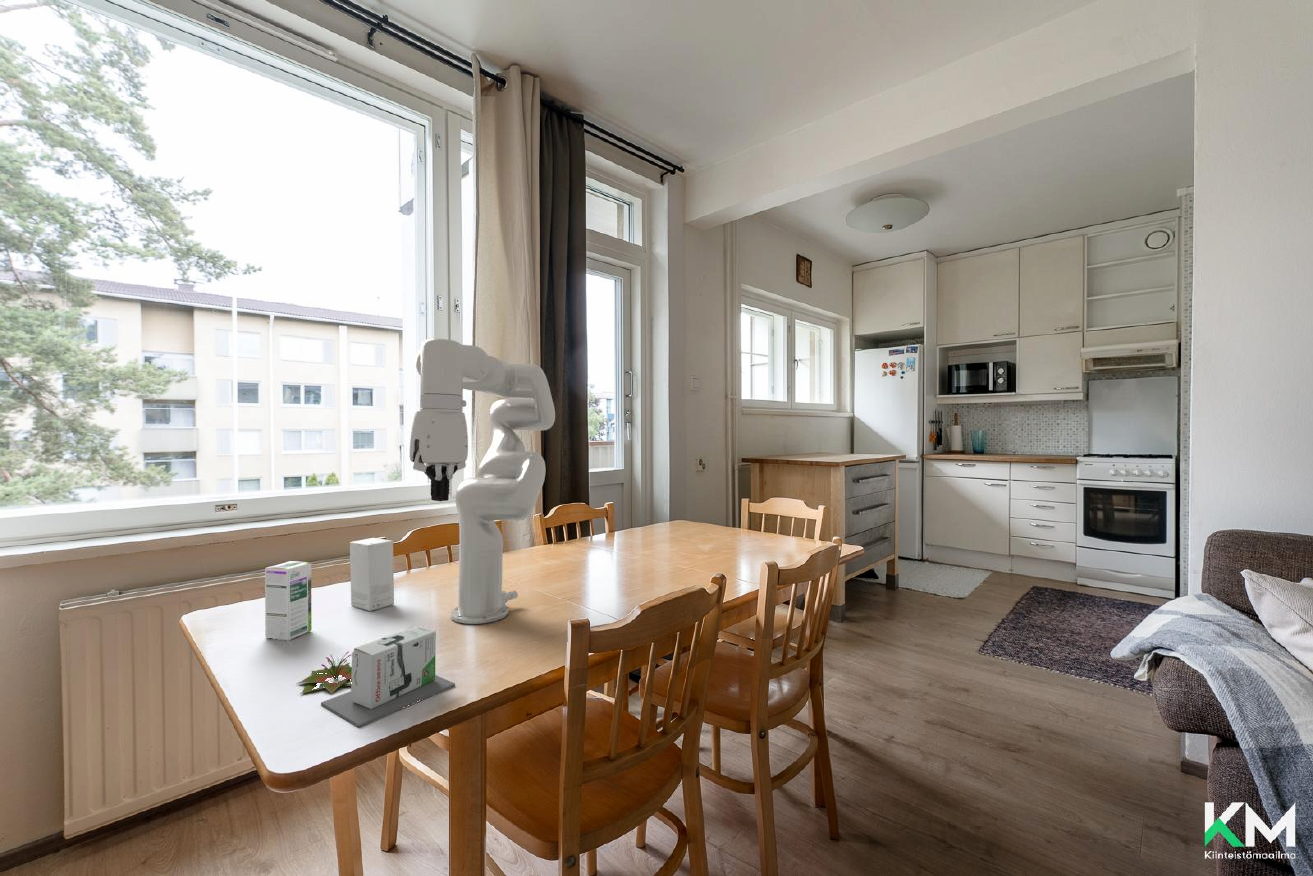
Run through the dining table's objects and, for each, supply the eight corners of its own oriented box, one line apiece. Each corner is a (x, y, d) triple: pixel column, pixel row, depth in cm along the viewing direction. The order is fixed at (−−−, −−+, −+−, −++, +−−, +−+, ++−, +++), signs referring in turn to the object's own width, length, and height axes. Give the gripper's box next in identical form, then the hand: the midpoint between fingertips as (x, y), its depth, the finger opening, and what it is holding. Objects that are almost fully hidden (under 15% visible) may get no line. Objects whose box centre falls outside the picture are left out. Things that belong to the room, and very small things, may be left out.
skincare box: (394, 605, 133) (395, 540, 132) (367, 612, 127) (368, 545, 127) (374, 598, 137) (375, 536, 137) (348, 605, 132) (348, 540, 131)
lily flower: (303, 672, 97) (303, 646, 97) (379, 663, 101) (379, 638, 101) (285, 704, 86) (286, 675, 86) (372, 692, 90) (372, 665, 90)
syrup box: (288, 641, 109) (289, 568, 109) (263, 638, 110) (264, 566, 110) (312, 631, 115) (312, 562, 115) (288, 628, 116) (288, 560, 116)
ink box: (436, 680, 93) (369, 712, 83) (417, 673, 95) (350, 703, 85) (437, 630, 93) (370, 655, 82) (417, 623, 95) (350, 648, 85)
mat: (416, 668, 98) (416, 666, 98) (455, 686, 92) (455, 683, 92) (320, 705, 85) (321, 702, 85) (359, 727, 79) (359, 725, 79)
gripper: (462, 406, 114) (460, 495, 114) (393, 402, 101) (391, 502, 102) (486, 406, 110) (484, 498, 110) (417, 402, 97) (415, 506, 98)
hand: (439, 500), depth 106 cm, fingers closed
